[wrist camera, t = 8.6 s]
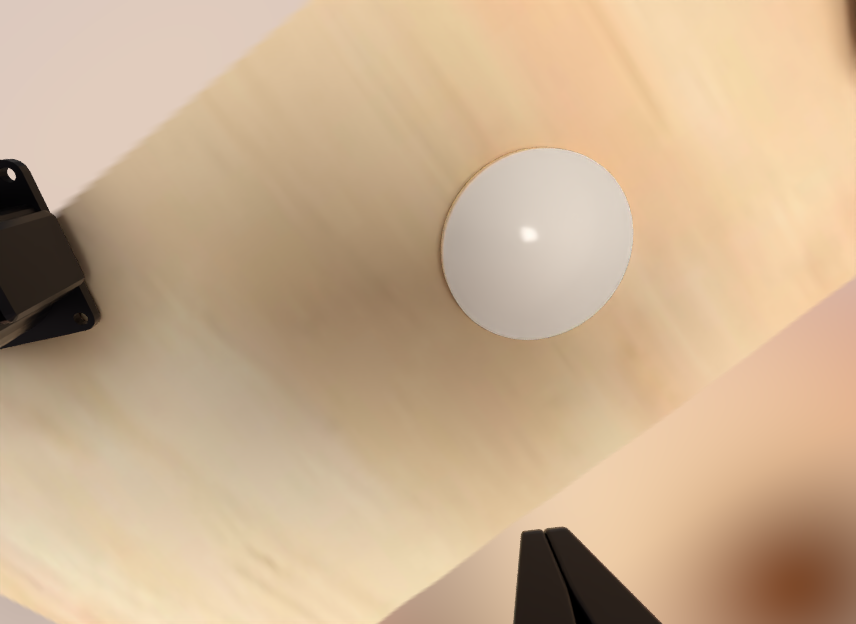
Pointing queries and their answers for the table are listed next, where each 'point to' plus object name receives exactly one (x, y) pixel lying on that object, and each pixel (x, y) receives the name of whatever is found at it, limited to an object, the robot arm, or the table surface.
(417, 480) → the table surface
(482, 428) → the table surface
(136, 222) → the table surface
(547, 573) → the robot arm
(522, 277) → the coaster
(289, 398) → the table surface
